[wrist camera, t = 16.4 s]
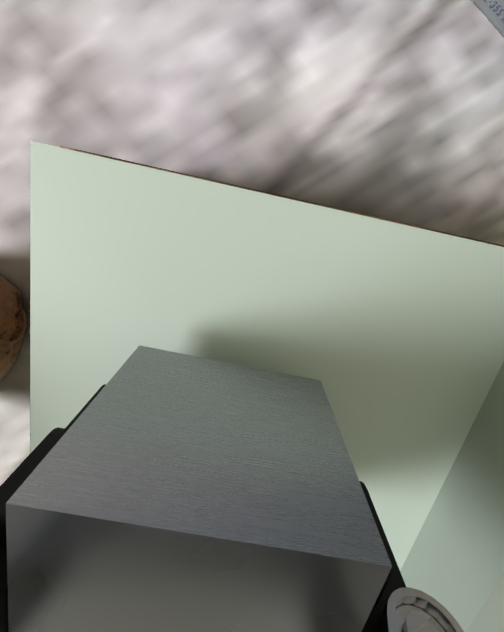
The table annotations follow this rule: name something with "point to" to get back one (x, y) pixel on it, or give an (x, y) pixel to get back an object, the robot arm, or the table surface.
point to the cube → (195, 510)
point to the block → (10, 325)
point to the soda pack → (493, 12)
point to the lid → (292, 338)
